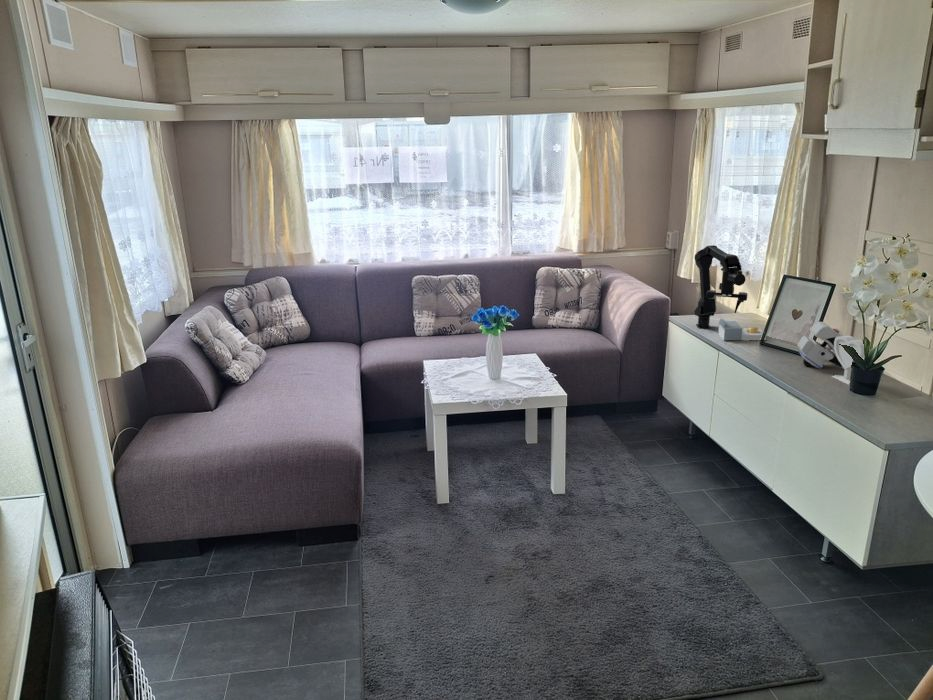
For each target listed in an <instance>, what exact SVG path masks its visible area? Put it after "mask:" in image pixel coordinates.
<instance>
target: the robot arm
mask: <svg viewBox="0 0 933 700" xmlns="http://www.w3.org/2000/svg"><path fill="white" fill-rule="evenodd" d="M714 258H715V259H716V260H718V261H719V264H720V265H721V267H722V268H721V269H720V271H721V272H722V276H721V277H722V278H721V282H719V286H718V290H720V292H716V291H717V290H715V289H711V275H710V267H711V266H712V264H713V259H714ZM694 260H695V265H696V266H697V268H698V269H699V285H700V299H699V300H698V302H697V307H696V308H695V310H694V315H695V316H697V317H698V318H697V323H696V325H695V326H696V328H698V329H711V328H712V326H711V325H710V322H711V321H710V320H711V319H710V317H711V316H712V317H713V316H715V313H716V312H717V297H723V298H734V299H737V300H736V303H735V308H734V314H737V311H738V308H739V306H740V305H741V303H744V302H745V301H748V296H749V295H748V293H747V292H743V291H739V292H738V293H735V285H736V286H738V287H740V286H742V285H744V284H745V283H746V280H747V279H746V275H744V274H743V271H742V265H741V263H740V259H739V257H738V255H736V254H731V253H727V252H725V251H724V250H722V249H720V248H719V247H717V245H714V244H713V245H706V246H705V247H704V248H702V249H700V250H698V251H697V252H696V253H695V254H694Z"/></svg>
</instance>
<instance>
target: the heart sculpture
mask: <svg viewBox="0 0 933 700" xmlns="http://www.w3.org/2000/svg"><path fill="white" fill-rule="evenodd" d="M839 344H841V345H847V346H850V347H853V348H854V349H855V350H856V352H857V353H858V355H859V356H860V357H861V358H862V359H863V358H864V357H865V356H864V344H863V340H862V339H856V338H855V337H854V336H851V335H842V336H839V337H836V338H835V341H834V351H835V354H836V357H837V359H838V360H839V362H840V363H841V365H842V366H843V368H844V369H843V368H842V369H843V370H844V371H843V374H835V375H834V376H833V375H831V377H832V378H834V379H836V380H839V382H842V383H843V384H846V385H848V386H850V385H849V383H850V379H851V374H852V368H851V365H852V361H853V359H852V357H851V356H850V355H849V354H848V353H847V352H846V351H845V350H844V348H843V347H842V346H841V345H839Z"/></svg>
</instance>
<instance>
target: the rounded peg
mask: <svg viewBox="0 0 933 700" xmlns="http://www.w3.org/2000/svg"><path fill="white" fill-rule="evenodd" d="M748 328H749V333H757V331H758V328H759V327H757V326H748Z"/></svg>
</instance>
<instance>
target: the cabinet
mask: <svg viewBox="0 0 933 700" xmlns="http://www.w3.org/2000/svg"><path fill="white" fill-rule="evenodd" d="M719 324H720V325H721V326H722V327H723V329H724V330H725V333H724V340H741V337H742V328H743V327H741V326H740V324H738V322H737V321H736V320H732V321H731V320H725V319H724V318H722V317H720V318H719V321H718V325H719ZM717 329H718V331H717V333H719V327H718V328H717ZM724 340H723V341H724Z"/></svg>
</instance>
